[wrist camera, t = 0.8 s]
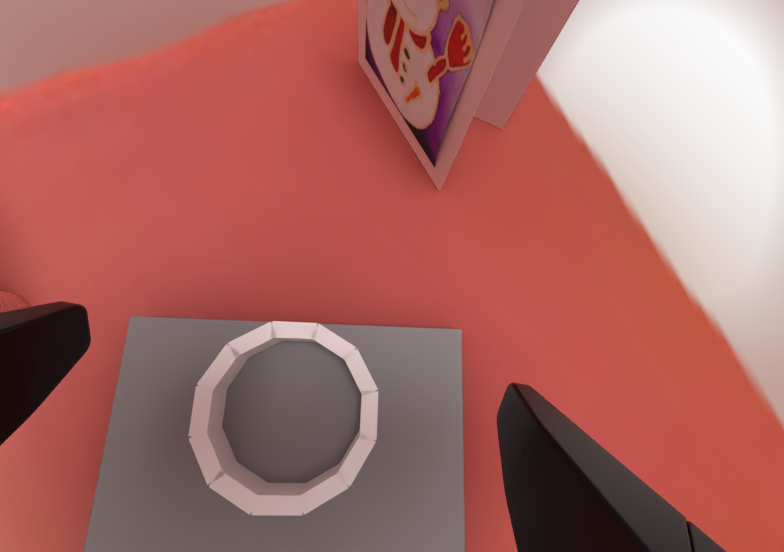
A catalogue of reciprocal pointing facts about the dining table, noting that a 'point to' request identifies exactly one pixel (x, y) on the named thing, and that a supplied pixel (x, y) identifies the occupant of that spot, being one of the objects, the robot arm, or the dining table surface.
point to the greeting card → (453, 64)
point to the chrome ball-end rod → (11, 302)
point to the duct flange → (283, 439)
